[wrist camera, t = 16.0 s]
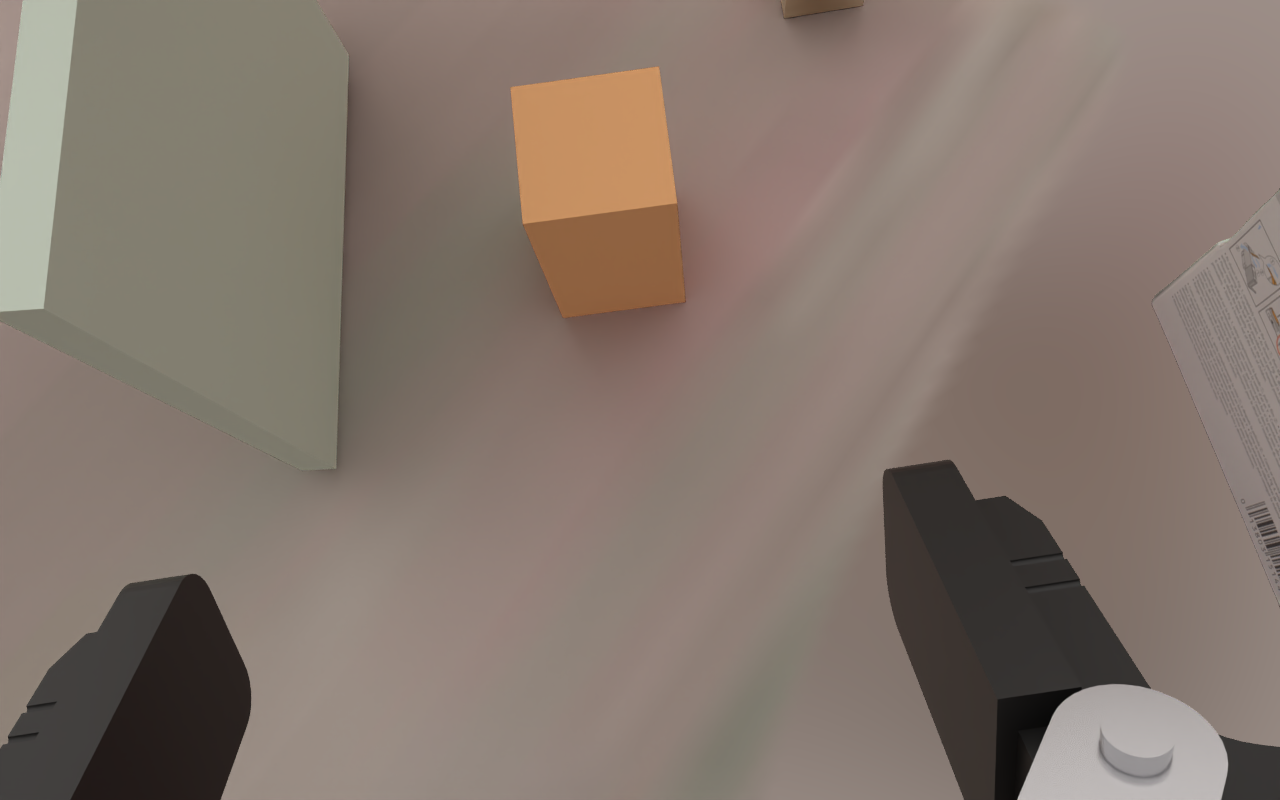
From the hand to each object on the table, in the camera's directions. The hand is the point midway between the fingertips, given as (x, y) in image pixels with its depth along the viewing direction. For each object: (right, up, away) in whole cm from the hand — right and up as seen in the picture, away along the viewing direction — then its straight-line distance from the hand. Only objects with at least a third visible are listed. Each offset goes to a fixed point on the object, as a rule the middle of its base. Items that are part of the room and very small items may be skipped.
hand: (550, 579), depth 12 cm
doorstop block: (0, +7, +25) cm, 26 cm away
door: (-11, +7, +25) cm, 29 cm away
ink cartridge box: (+21, +1, +22) cm, 31 cm away
